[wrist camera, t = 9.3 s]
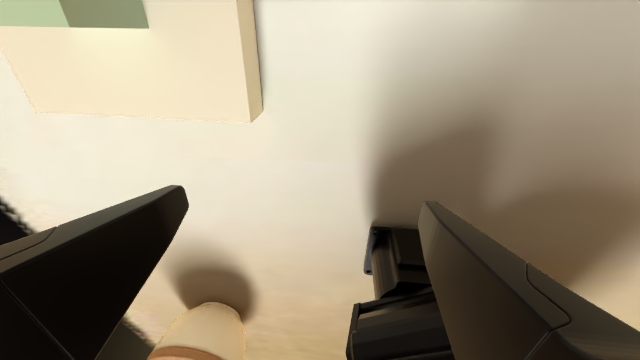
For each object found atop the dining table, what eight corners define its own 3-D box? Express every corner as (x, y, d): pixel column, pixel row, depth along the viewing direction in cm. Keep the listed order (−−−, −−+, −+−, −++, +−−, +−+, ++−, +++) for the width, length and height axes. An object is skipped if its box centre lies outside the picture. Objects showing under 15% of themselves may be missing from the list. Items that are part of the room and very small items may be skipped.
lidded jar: (165, 300, 35) (110, 382, 26) (225, 282, 31) (184, 369, 23) (213, 340, 39) (179, 421, 31) (271, 328, 36) (250, 414, 28)
